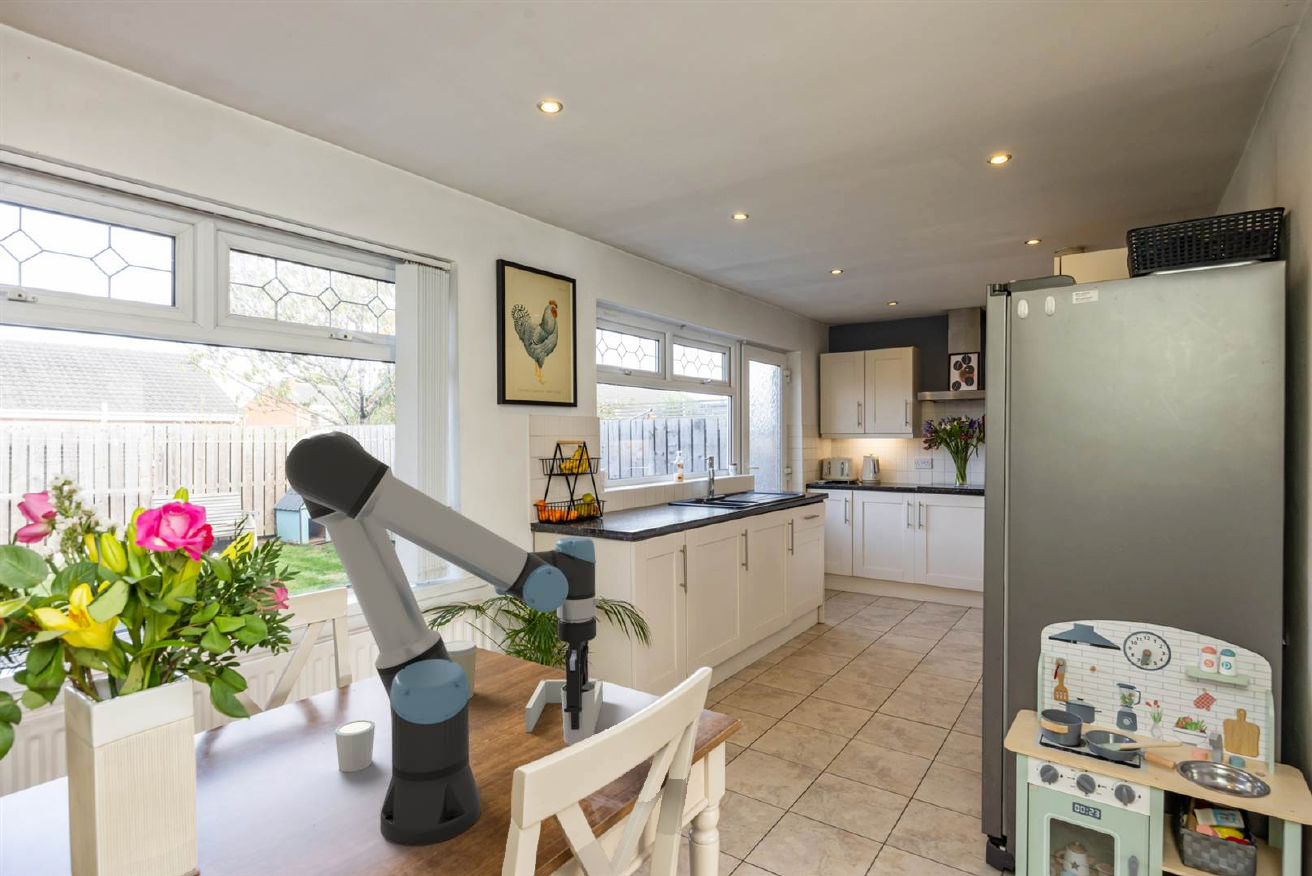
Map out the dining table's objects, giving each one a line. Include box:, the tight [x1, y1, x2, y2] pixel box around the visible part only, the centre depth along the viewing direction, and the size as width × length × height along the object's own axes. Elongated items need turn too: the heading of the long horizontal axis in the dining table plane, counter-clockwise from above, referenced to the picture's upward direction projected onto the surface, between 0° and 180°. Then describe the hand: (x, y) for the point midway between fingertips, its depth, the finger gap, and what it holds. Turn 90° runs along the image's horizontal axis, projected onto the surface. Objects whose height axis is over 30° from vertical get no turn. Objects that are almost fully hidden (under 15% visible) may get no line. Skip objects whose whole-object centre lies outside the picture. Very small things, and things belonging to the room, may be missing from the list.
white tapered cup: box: [334, 719, 376, 773], centre depth 125 cm, size 7×7×7 cm
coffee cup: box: [444, 639, 478, 700], centre depth 159 cm, size 9×9×12 cm
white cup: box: [561, 682, 595, 745], centre depth 130 cm, size 7×7×10 cm
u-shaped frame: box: [524, 679, 604, 733], centre depth 146 cm, size 14×17×5 cm
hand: (578, 737), depth 130 cm, fingers closed on white cup, 6 cm apart
